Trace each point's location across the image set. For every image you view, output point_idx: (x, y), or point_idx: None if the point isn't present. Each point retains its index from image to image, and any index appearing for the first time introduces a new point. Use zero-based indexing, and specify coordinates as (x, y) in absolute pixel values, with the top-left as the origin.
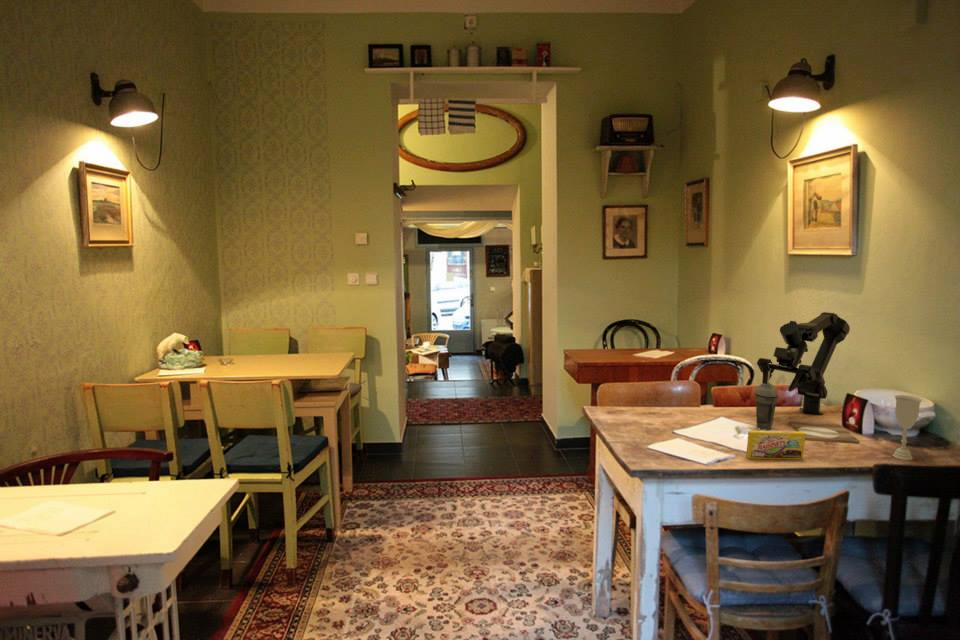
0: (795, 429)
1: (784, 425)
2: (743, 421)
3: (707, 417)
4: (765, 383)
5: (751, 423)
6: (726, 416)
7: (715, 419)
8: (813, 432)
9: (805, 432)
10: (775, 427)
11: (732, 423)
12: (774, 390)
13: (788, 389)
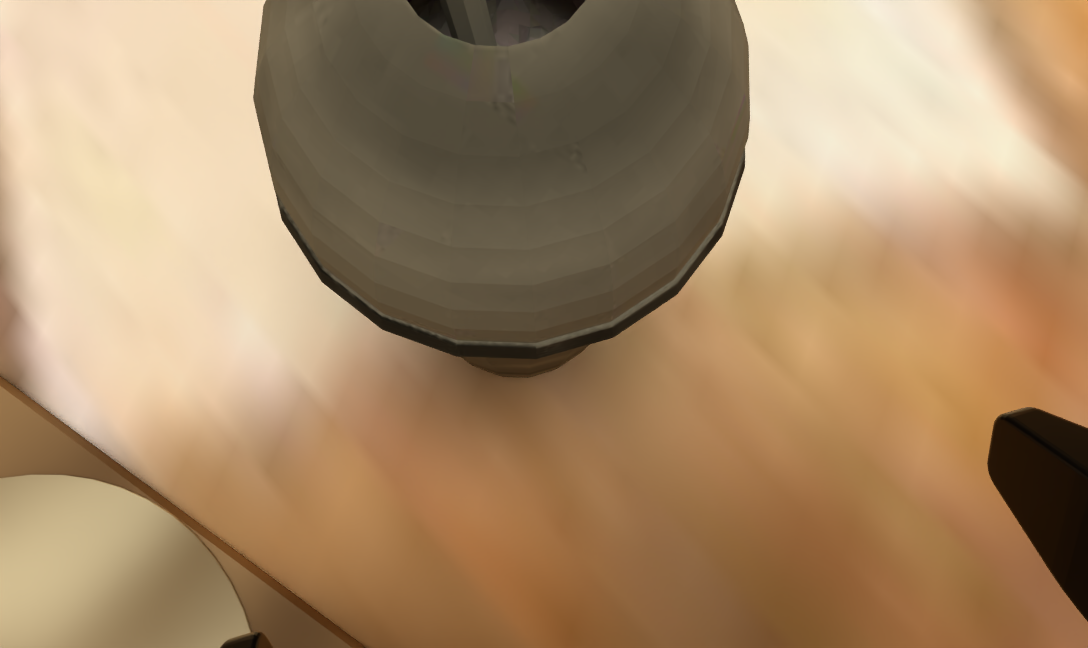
0: (310, 608)
1: (511, 641)
2: (821, 286)
3: (1077, 27)
4: (608, 7)
5: (722, 311)
6: (1062, 257)
7: (983, 51)
8: (32, 627)
9: (82, 525)
10: (489, 453)
11: (792, 109)
12: (258, 56)
13: (255, 634)
